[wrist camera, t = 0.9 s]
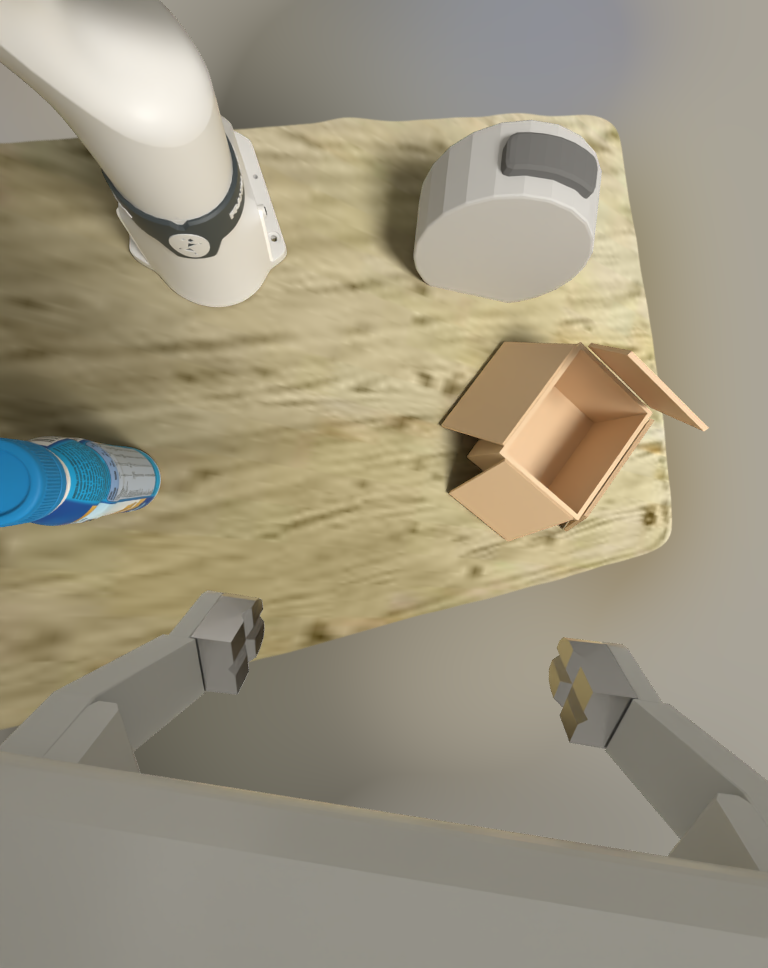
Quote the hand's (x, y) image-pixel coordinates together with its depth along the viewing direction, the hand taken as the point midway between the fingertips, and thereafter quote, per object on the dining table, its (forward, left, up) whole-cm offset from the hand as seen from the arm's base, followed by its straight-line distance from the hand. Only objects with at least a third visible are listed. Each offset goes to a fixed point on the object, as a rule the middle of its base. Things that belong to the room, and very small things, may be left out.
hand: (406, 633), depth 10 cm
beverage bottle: (-7, -25, -42) cm, 50 cm away
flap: (-12, +38, -32) cm, 51 cm away
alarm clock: (-32, +25, -42) cm, 58 cm away
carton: (-4, +30, -42) cm, 51 cm away
